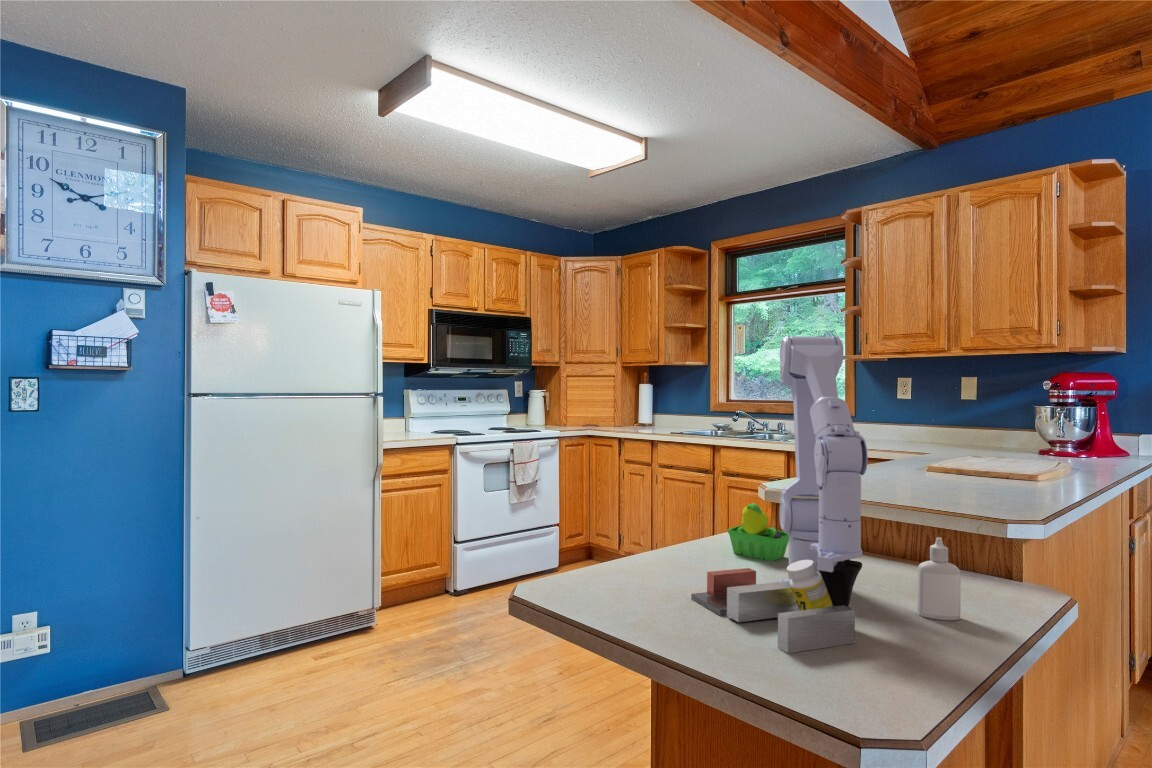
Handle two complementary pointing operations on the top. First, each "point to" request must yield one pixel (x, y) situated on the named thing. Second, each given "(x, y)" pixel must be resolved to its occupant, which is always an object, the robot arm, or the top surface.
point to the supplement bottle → (808, 586)
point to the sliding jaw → (750, 595)
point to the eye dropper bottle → (938, 585)
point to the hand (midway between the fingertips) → (838, 611)
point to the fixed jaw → (816, 628)
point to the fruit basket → (757, 536)
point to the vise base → (712, 602)
